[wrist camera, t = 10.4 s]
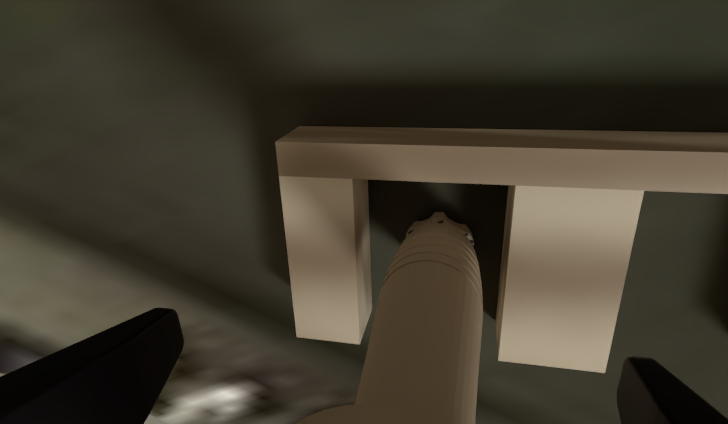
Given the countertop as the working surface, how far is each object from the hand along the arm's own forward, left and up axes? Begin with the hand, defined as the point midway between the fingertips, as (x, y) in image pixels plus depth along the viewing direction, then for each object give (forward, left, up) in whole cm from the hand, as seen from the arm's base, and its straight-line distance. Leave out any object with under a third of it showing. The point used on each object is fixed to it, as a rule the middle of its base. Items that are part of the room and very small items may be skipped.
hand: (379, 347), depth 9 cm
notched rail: (-4, -6, -13) cm, 15 cm away
